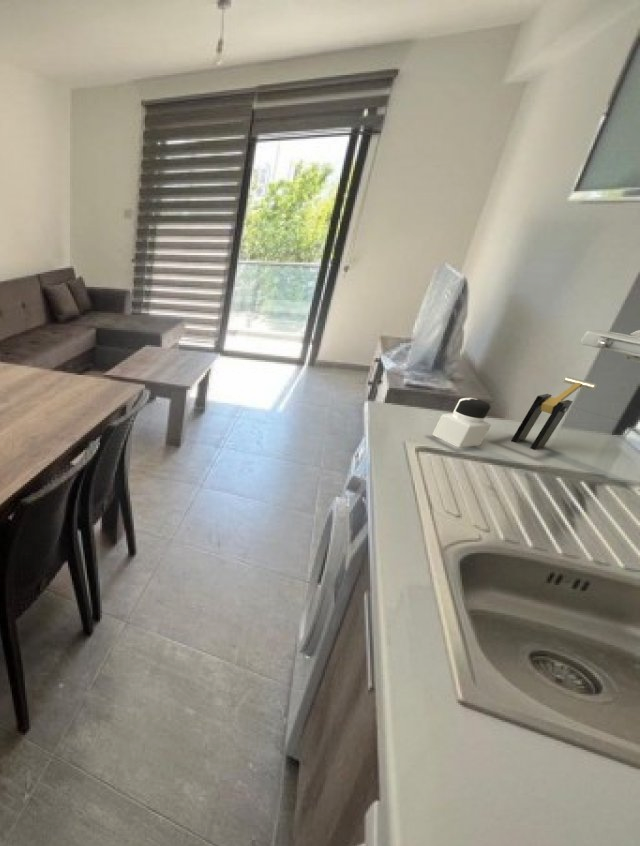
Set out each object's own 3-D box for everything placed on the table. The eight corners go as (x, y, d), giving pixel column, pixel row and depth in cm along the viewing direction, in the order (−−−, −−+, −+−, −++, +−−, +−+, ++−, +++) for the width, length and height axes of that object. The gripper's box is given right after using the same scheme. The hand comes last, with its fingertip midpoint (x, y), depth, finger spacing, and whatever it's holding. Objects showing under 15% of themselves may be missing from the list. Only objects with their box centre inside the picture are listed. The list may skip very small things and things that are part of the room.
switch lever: (566, 381, 120) (569, 374, 118) (595, 389, 115) (598, 381, 114) (531, 407, 118) (534, 400, 117) (559, 416, 114) (562, 409, 112)
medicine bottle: (477, 449, 119) (502, 405, 114) (456, 452, 118) (480, 407, 112) (450, 436, 125) (472, 394, 120) (429, 438, 124) (450, 395, 118)
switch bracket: (513, 438, 127) (542, 389, 120) (556, 453, 120) (589, 403, 113) (492, 443, 123) (521, 394, 116) (535, 460, 116) (568, 408, 109)
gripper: (602, 323, 130) (578, 326, 125) (717, 344, 114) (694, 349, 109) (588, 345, 133) (564, 349, 128) (698, 369, 117) (675, 375, 112)
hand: (625, 349), depth 119 cm, fingers open, 8 cm apart
